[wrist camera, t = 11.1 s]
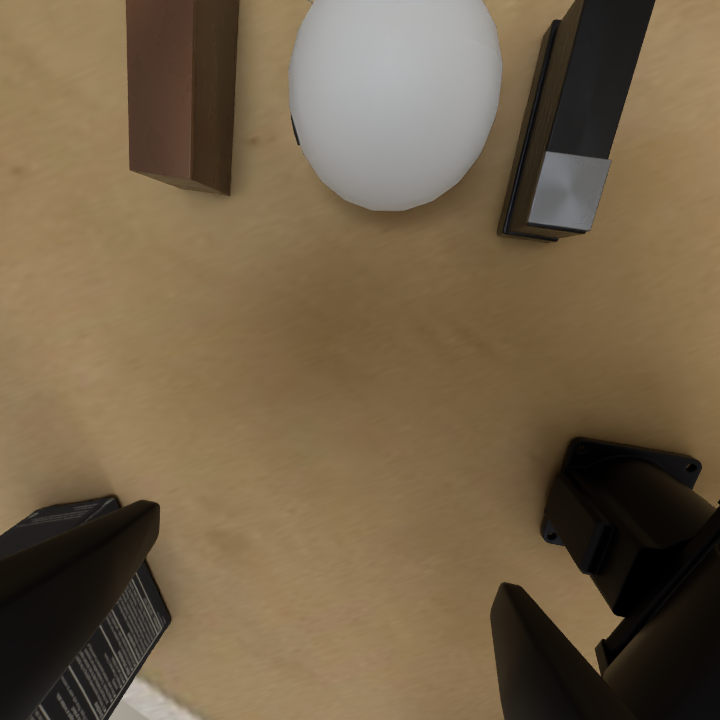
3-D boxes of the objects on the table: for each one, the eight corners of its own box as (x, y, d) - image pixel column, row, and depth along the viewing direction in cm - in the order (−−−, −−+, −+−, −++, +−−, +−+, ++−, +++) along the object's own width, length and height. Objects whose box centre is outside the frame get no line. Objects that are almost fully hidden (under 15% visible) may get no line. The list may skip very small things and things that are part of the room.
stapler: (604, 41, 15) (673, -32, 11) (549, 243, 17) (591, 237, 13) (543, 33, 15) (591, -40, 11) (495, 235, 17) (523, 227, 13)
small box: (31, 507, 24) (-239, 688, 14) (116, 492, 23) (-105, 674, 13) (95, 631, 26) (-94, 862, 16) (175, 622, 25) (29, 861, 15)
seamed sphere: (509, 145, 16) (601, 51, 9) (379, 254, 18) (369, 248, 11) (371, -65, 15) (349, -376, 7) (242, 76, 16) (126, -69, 9)
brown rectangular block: (239, -4, 15) (194, -81, 12) (230, 196, 18) (190, 179, 14) (183, -10, 16) (123, -89, 12) (181, 188, 18) (129, 170, 14)
